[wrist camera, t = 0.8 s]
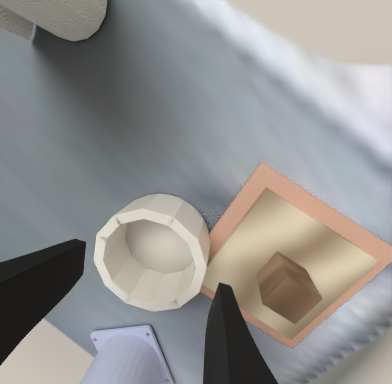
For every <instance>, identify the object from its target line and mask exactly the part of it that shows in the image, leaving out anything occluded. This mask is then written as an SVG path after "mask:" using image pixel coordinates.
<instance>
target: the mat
mask: <svg viewBox="0 0 392 384" xmlns="http://www.w3.org/2000/svg"><path fill="white" fill-rule="evenodd" d="M266 187H267V188H269V189H270V190H272V191H273V192H275V193H276V194H278V195H279V196H281V197H282V198H284V199H286V200H287V201H289V202H290V203H292V204H293V205H295V206H296V207H298V208H299V209H301V210H302V211H304V212H306V213H307V214H309V215H310V216H312V217H313V218H315V219H316V220H318V221H319V222H321V223H323V224H324V225H326V226H327V227H329V228H330V229H332V230H333V231H335V232H336V233H338V234H340V235H341V236H343V237H344V238H346V239H347V240H349V241H350V242H352V243H353V244H355V245H356V246H358V247H360V248H361V249H363V250H364V251H366V252H367V253H369V254H370V255H372V256H373V257H374V258H376V259H377V260H378V261H379V262H378V263H377V264H376V265H375V266H374V267H372V268H371V269H370V270H369V271H368V272H367V273H366V274H365V275H364V276H362V277H361V278H360V279H359V280H358V281H357V282H356V283H355V284H353V285H352V286H351V287H350V288H349V289H348V290H347V291H346V292H344V293H343V294H342V295H341V296H340V297H339V298H338V299H337V300H336V301H334V302H333V303H332V304H331V305H330V306H329V307H328V308H327V309H325V310H324V311H323V312H322V313H321V314H320V315H319V316H318V317H317V318H315V319H314V320H313V321H312V322H311V323H310V324H309V325H308V326H306V327H305V328H304V329H303V330H302V331H301V332H300V333H299V334H298V335H296V336H295V337H294V338H293V339H292V340H290V339H289V338H287V337H286V336H284V335H282V334H281V333H279V332H278V331H276V330H274V329H273V328H271V327H270V326H268V325H266V324H265V323H263V322H262V321H260V320H259V319H257V318H255V317H254V316H252V315H251V314H249V313H247V312H246V311H244V310H243V309H241V308H240V311H241V313H242V316H243V318H244V319H245V320H246V321H248V322H249V323H251V324H253V325H254V326H256V327H257V328H259V329H261V330H262V331H264V332H265V333H267V334H269V335H270V336H272V337H273V338H275V339H277V340H278V341H280V342H281V343H283V344H285V345H286V346H288V347H289V348H291V349H292V348H293V347H294V346H296V345H297V344H298V343H299V342H300V341H301V340H302V339H304V338H305V337H306V336H307V335H308V334H309V333H310V332H312V331H313V330H314V329H315V328H316V327H317V326H318V325H320V324H321V323H322V322H323V321H324V320H325V319H326V318H328V317H329V316H330V315H331V314H332V313H333V312H334V311H336V310H337V309H338V308H339V307H340V306H341V305H342V304H344V303H345V302H346V301H347V300H348V299H349V298H350V297H352V296H353V295H354V294H355V293H356V292H357V291H358V290H360V289H361V288H362V287H363V286H364V285H365V284H366V283H368V282H369V281H370V280H371V279H372V278H373V277H374V276H376V275H377V274H378V273H379V272H380V271H381V270H382V269H384V268H385V267H386V266H387V265H388V264H389V263H390V262H392V246H390V245H389V244H387V243H386V242H384V241H382V240H381V239H379V238H378V237H376V236H375V235H373V234H372V233H370V232H369V231H367V230H366V229H364V228H363V227H361V226H359V225H358V224H356V223H355V222H353V221H352V220H350V219H349V218H347V217H346V216H344V215H343V214H341V213H340V212H338V211H336V210H335V209H333V208H332V207H330V206H329V205H327V204H326V203H324V202H323V201H321V200H320V199H318V198H316V197H315V196H313V195H312V194H310V193H309V192H307V191H306V190H304V189H303V188H301V187H300V186H298V185H297V184H295V183H293V182H292V181H290V180H289V179H287V178H286V177H284V176H283V175H281V174H280V173H278V172H277V171H275V170H274V169H272V168H270V167H269V166H267V165H266V164H264V163H263V162H261V163H260V164H259V166H258V167H257V168H256V170H255V171H254V173H253V174H252V175H251V177H250V178H249V179H248V181H247V182H246V183H245V185H244V186H243V188H242V189H241V190H240V192H239V193H238V194H237V196H236V197H235V199H234V200H233V201H232V203H231V204H230V205H229V207H228V208H227V210H226V211H225V212H224V214H223V215H222V216H221V218H220V219H219V220H218V222H217V223H216V225H215V226H214V227H213V229H212V230H211V231H210V233H209V238H210V242H211V243H210V250H209V256H208V262H209V260H210V259H211V258H212V256H213V255H214V254H215V252H216V251H217V250H218V249H219V247H220V246H221V245H222V243H223V242H224V241H225V239H226V238H227V237H228V236H229V234H230V233H231V232H232V230H233V229H234V228H235V227H236V225H237V224H238V223H239V221H240V220H241V219H242V217H243V216H244V215H245V214H246V212H247V211H248V210H249V208H250V207H251V206H252V204H253V203H254V202H255V201H256V199H257V198H258V197H259V195H260V194H261V193H262V192H263V190H264V189H265V188H266ZM200 292H201V293H203V294H205V295H206V296H208V297H209V298H211V299H214V296H215V292H214V291H212V290H211V289H209V288H207V287H206V286H204V285H203V284H202V285H201V288H200Z"/></svg>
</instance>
